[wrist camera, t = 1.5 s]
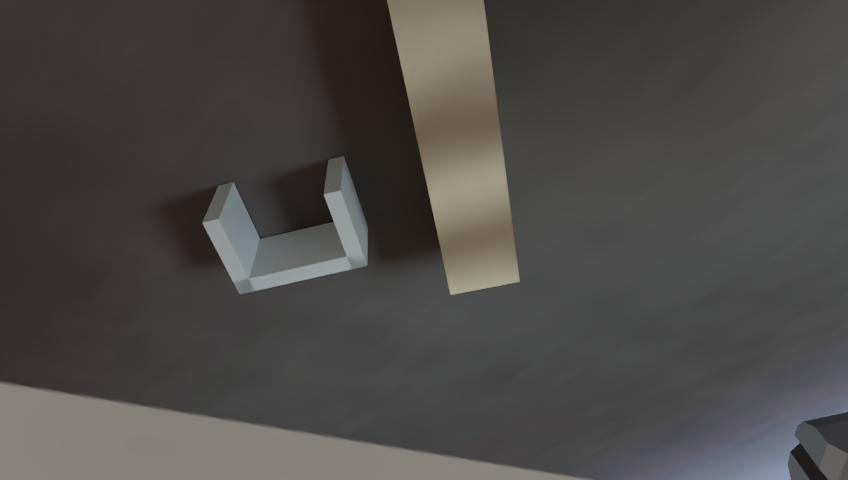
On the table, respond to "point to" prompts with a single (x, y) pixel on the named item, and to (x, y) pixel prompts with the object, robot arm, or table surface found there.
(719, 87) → the table surface
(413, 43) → the tan wooden beam
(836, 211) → the table surface
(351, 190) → the cap
